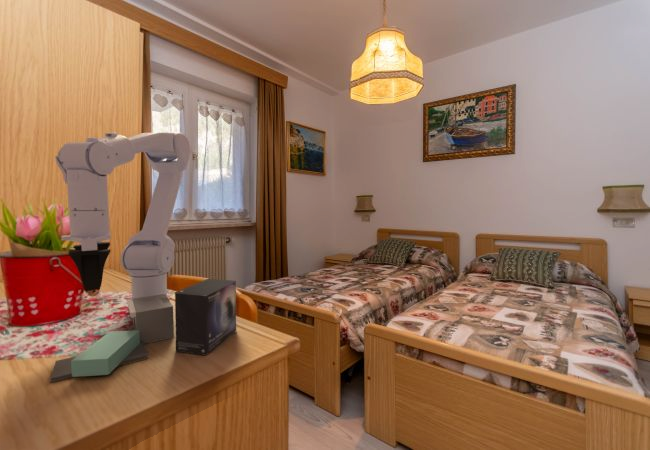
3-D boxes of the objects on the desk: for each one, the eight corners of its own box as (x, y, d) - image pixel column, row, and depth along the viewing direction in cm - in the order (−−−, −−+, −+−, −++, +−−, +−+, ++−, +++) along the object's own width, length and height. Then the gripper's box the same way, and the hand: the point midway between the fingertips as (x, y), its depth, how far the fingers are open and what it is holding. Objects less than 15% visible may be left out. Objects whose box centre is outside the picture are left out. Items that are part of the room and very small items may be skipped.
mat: (56, 364, 49) (55, 360, 49) (143, 344, 56) (143, 341, 56) (50, 382, 44) (50, 378, 44) (147, 358, 51) (147, 354, 51)
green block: (71, 360, 44) (107, 358, 45) (109, 331, 54) (139, 330, 55) (72, 376, 45) (108, 374, 45) (110, 344, 54) (139, 343, 55)
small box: (208, 356, 52) (206, 295, 51) (173, 352, 53) (171, 292, 52) (238, 330, 62) (237, 279, 61) (209, 328, 63) (207, 277, 63)
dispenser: (128, 328, 63) (127, 299, 62) (166, 321, 67) (165, 293, 66) (131, 346, 55) (130, 313, 55) (174, 337, 59) (172, 305, 58)
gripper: (64, 209, 59) (69, 279, 60) (54, 212, 48) (60, 299, 49) (109, 209, 63) (112, 274, 64) (110, 211, 52) (114, 291, 53)
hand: (93, 285), depth 57 cm, fingers open, 7 cm apart
